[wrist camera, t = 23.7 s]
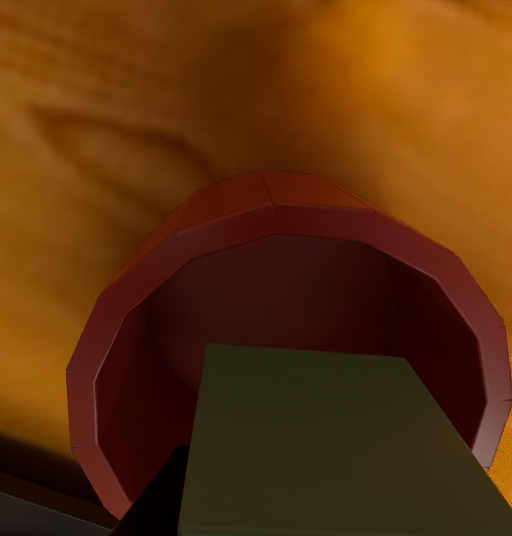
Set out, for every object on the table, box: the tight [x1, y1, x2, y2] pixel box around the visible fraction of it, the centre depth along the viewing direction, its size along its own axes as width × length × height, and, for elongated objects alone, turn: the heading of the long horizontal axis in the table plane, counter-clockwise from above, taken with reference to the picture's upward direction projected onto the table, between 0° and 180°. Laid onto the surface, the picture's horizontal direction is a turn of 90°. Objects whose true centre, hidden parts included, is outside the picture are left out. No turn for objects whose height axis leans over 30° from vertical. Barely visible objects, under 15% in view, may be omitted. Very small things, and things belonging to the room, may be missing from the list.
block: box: [177, 343, 512, 536], centre depth 8 cm, size 4×4×4 cm
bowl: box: [66, 171, 512, 520], centre depth 13 cm, size 11×11×6 cm
